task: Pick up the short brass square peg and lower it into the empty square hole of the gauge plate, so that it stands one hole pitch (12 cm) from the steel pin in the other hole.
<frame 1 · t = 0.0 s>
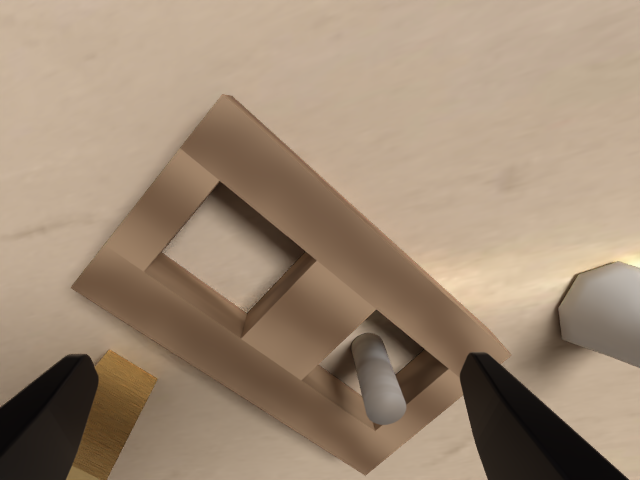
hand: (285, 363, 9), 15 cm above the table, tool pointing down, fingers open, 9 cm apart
gauge plate: (307, 300, 26), on the table
peg: (118, 381, 27), on the table
flask: (600, 303, 28), on the table
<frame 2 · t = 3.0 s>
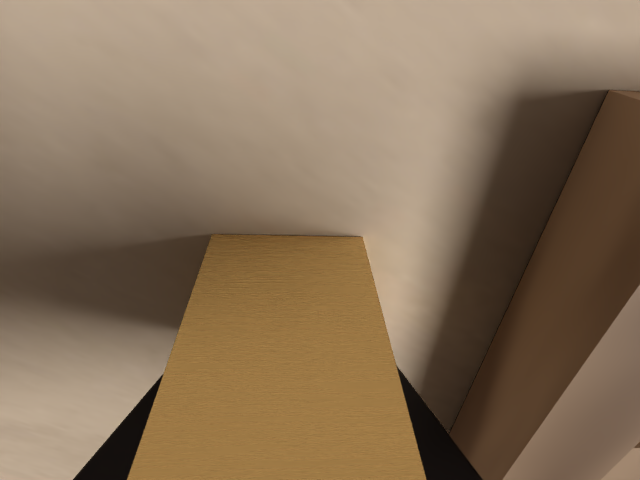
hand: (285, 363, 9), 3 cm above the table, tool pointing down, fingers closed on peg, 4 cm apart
gauge plate: (626, 402, 15), on the table
peg: (287, 291, 11), on the table, touching gripper
when the fingers open (4 cm above the table, at t = 8.2 s): peg drops 1 cm, resting in gauge plate.
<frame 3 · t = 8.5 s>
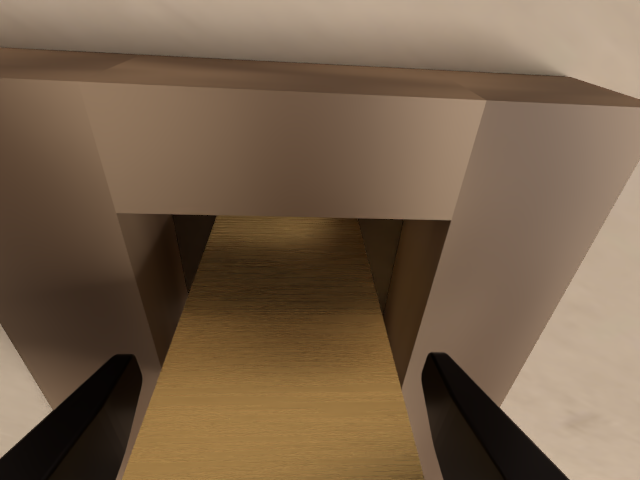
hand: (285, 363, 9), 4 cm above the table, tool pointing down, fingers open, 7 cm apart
gauge plate: (288, 375, 16), on the table
peg: (288, 260, 12), resting in gauge plate
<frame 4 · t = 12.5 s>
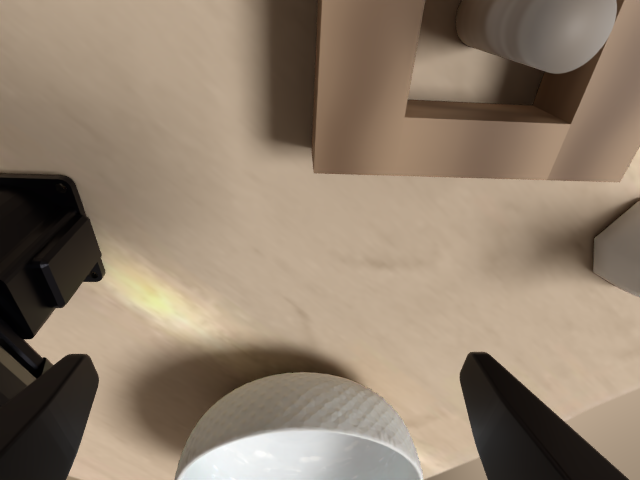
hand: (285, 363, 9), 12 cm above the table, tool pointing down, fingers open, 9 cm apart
cereal bowl: (300, 402, 31), on the table
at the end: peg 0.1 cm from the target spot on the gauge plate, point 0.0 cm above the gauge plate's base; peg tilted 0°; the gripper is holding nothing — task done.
